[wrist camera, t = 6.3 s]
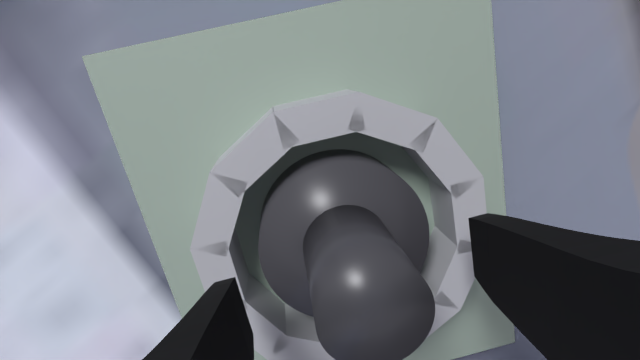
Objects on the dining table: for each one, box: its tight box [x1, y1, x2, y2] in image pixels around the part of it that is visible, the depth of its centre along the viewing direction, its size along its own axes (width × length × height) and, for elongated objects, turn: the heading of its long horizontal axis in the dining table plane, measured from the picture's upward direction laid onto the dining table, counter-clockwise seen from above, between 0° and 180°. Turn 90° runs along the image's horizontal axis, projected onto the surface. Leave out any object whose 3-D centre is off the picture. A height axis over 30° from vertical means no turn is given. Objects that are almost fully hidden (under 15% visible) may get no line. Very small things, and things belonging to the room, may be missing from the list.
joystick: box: [258, 149, 435, 360], centre depth 12 cm, size 6×6×6 cm
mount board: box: [82, 0, 515, 360], centre depth 15 cm, size 16×14×4 cm
